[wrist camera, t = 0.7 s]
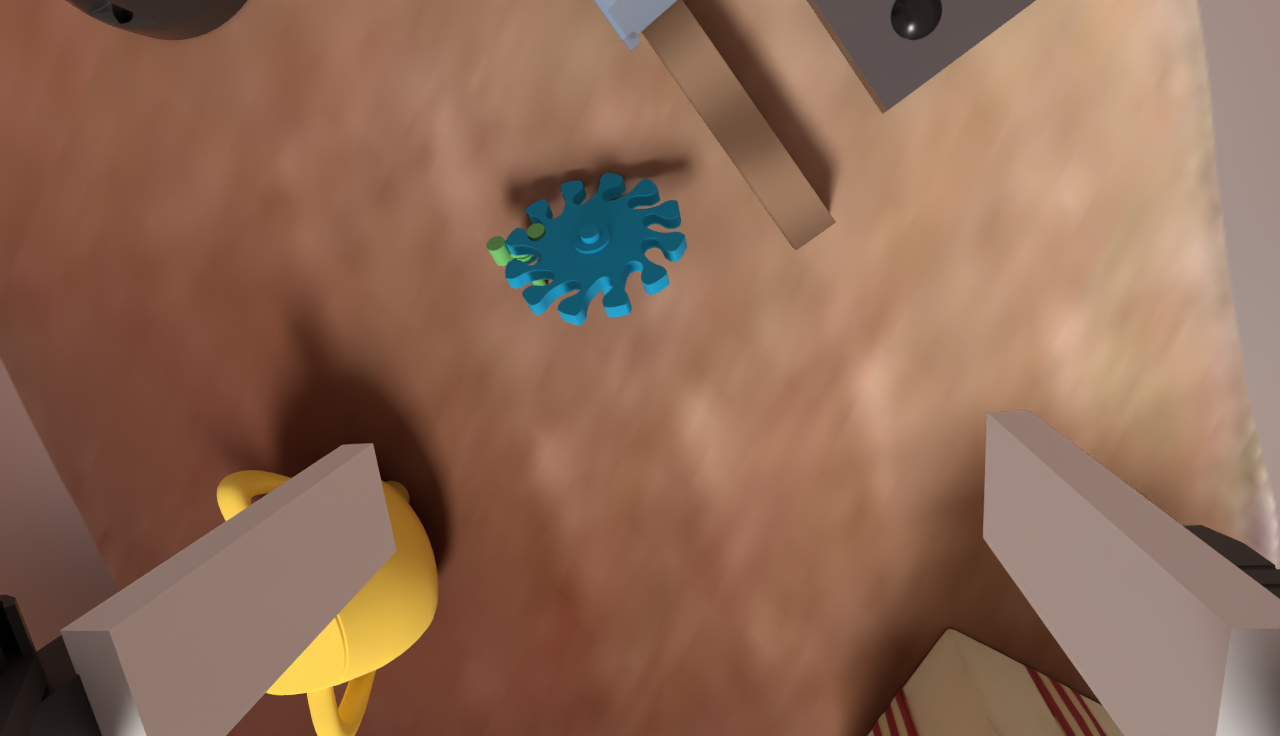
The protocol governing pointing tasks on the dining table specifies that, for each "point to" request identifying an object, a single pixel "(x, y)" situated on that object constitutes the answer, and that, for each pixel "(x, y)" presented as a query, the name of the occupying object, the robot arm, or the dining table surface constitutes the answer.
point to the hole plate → (908, 37)
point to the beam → (737, 124)
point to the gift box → (987, 698)
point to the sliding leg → (632, 16)
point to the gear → (590, 248)
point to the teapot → (355, 611)
